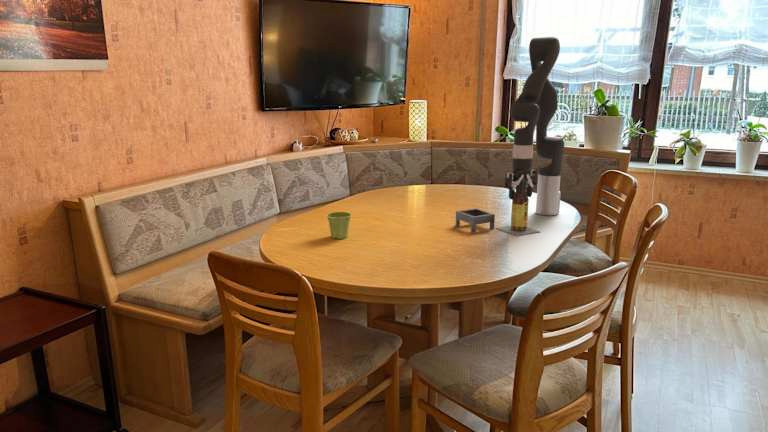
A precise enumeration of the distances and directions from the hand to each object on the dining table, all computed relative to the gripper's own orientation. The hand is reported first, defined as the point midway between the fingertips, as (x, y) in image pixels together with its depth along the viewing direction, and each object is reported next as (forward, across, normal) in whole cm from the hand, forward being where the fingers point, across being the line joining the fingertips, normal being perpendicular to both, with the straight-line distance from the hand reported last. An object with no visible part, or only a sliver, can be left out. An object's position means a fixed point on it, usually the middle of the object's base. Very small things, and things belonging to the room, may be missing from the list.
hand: (520, 197), depth 223 cm
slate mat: (+13, 0, 0) cm, 13 cm away
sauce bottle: (+13, 0, 0) cm, 13 cm away
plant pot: (+13, +65, -26) cm, 71 cm away
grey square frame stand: (+13, +12, -12) cm, 21 cm away
